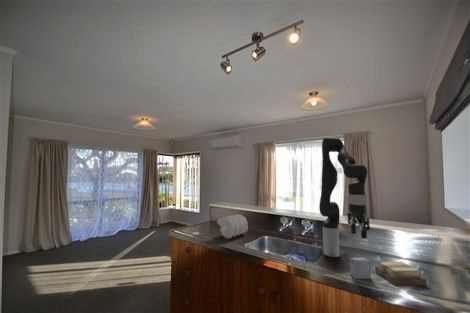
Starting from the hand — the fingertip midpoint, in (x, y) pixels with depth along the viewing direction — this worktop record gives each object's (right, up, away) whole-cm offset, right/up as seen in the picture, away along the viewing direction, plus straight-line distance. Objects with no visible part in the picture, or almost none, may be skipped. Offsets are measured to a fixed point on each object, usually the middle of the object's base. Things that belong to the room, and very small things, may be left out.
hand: (358, 235), depth 106 cm
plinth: (+18, -20, -4) cm, 27 cm away
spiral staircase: (-64, -27, +68) cm, 97 cm away
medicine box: (0, -20, -2) cm, 20 cm away
